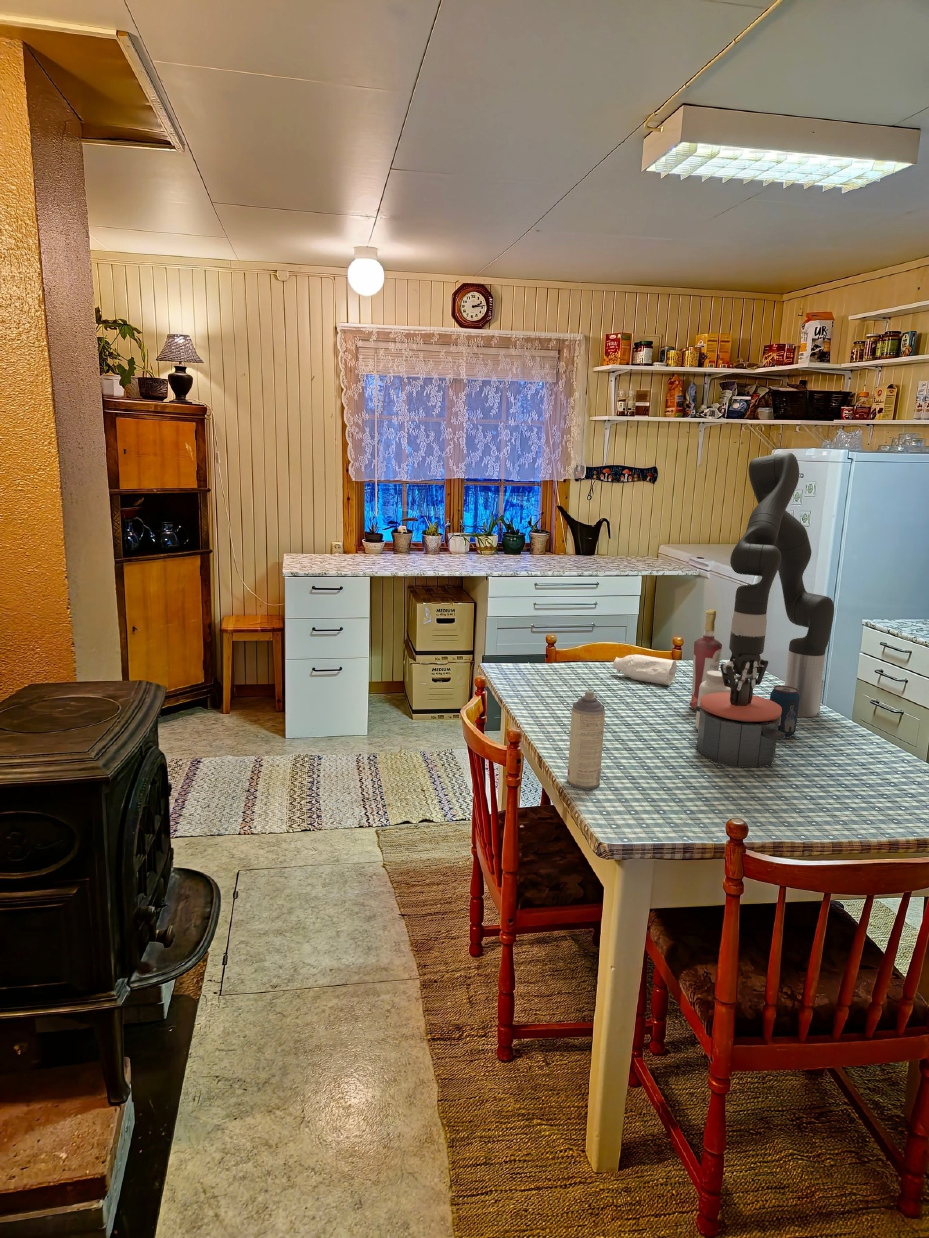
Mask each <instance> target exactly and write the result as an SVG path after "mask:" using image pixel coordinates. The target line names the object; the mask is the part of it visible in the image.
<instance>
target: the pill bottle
mask: <svg viewBox="0 0 929 1238" xmlns="http://www.w3.org/2000/svg"><path fill="white" fill-rule="evenodd" d="M706 680H707V681H704V682H702V683H701V685H700V687H699V696H698V705H697V706H700V699H701V697H702V696H704V695H707V694H711V693H721V692H729V693H731V689H730V688H729V687H726V686H724V682H723V677H722V673H721V670H718V671H708V672H707V673H706ZM699 717H700V712H699V711H696V715H695V722H694V723H695V728H696V729H697V730H698V728H699Z"/></svg>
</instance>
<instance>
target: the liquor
mask: <svg viewBox="0 0 929 1238" xmlns="http://www.w3.org/2000/svg"><path fill="white" fill-rule="evenodd" d="M716 619H717V610H716V609H706V610H705V624H704V631H703V636H702V637H701V638H698V639H696V640H695V641H694V642H693V655H692V656H693V658H692V660H693V661H692V684H691V685H692V687H691V701H690V702H689V706H690V707H691V708H692V710H694V712H697V711H696V706H697V705H698V696H699V687H700V685H701V683H702V682H704V681H707V680H706V673H707V672H708V671H720V669H719V668H720V665H721V664H720V663H721V657H722V656H721V655H722V649H723V644H722V643H721V642H720V641H719V640H718V639H716V638H715V624H716V623H715V622H716Z"/></svg>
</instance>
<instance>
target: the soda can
mask: <svg viewBox="0 0 929 1238" xmlns="http://www.w3.org/2000/svg"><path fill="white" fill-rule="evenodd" d="M769 694H770V695H769V700H771V701H773V702H775V703H777V704H778V705H780V706H781V708H782V713H781V716H780V717H779V726H778V731H780V732H783V733H786V734H785V738H784V739H788V738H792V737H793V736H794V734H795V733H796V732H797V731H796V730H797V725H798V724H797V723H798V718H799V716H798V708H799V700H800V696H799V694H798V690H797V689H796V688H793V687H789V686H785V685H775V686H773V688H772V691H771V692H770V693H769Z"/></svg>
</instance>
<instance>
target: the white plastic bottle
mask: <svg viewBox="0 0 929 1238" xmlns="http://www.w3.org/2000/svg"><path fill="white" fill-rule="evenodd" d="M612 666H613V669H614V670H616V673H617V674H618V673H620V672H621V673H622V675H623V676H626V677H627V678H630V679H632V680H635V681H640V682H646V683H650V682H651V683H650V684H657V685H662V686H667V685H668V687H670V685H669V684H671V685H672V683H673V682H674V680H675V679H676V673H677V669H678V664H677V661H676V659H675V660H673V659H668V658H660V657H655V656H649V655H643V654H628V655H625V656H624V657H618V656H616V657H615V659H614V660H613V664H612Z"/></svg>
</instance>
